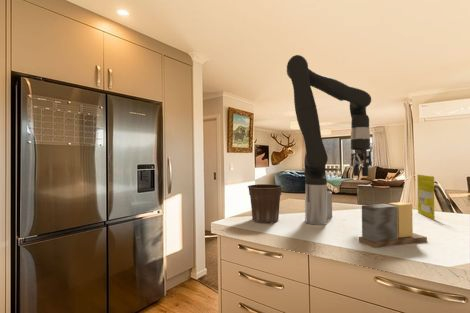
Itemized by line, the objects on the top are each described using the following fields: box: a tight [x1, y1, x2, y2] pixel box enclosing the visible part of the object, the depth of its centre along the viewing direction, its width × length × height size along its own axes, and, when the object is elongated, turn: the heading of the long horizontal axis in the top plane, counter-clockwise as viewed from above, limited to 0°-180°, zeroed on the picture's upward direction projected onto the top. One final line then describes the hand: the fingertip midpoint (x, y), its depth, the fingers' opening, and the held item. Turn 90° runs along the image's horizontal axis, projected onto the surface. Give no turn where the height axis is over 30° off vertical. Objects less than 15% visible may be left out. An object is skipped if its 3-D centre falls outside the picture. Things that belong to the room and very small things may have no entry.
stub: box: [388, 201, 414, 238], centre depth 90 cm, size 6×4×11 cm, turn 106°
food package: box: [417, 174, 435, 220], centre depth 127 cm, size 15×1×20 cm, turn 168°
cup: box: [327, 190, 333, 219], centre depth 129 cm, size 9×9×12 cm
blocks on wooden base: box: [358, 203, 428, 249], centre depth 89 cm, size 22×7×12 cm, turn 106°
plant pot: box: [247, 183, 283, 224], centre depth 121 cm, size 16×16×16 cm
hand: (360, 176), depth 111 cm, fingers open, 8 cm apart
